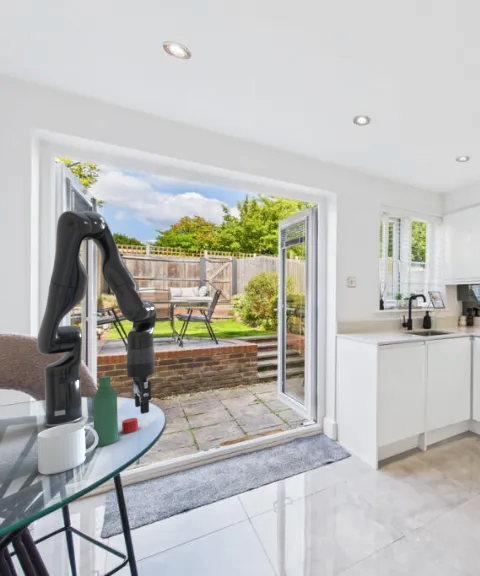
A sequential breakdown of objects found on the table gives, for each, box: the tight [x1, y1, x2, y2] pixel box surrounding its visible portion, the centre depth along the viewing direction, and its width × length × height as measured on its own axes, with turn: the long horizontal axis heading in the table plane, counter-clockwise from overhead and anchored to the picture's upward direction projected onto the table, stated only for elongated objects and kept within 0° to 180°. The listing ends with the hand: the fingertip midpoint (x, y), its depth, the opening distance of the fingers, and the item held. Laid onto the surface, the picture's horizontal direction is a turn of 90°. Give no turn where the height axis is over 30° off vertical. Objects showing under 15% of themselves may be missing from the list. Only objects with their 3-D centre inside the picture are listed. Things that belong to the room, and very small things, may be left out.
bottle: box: [92, 375, 119, 447], centre depth 105 cm, size 6×6×20 cm
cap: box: [121, 417, 139, 434], centre depth 113 cm, size 4×4×3 cm
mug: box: [37, 422, 99, 475], centre depth 92 cm, size 12×9×9 cm
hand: (141, 409), depth 116 cm, fingers open, 8 cm apart
